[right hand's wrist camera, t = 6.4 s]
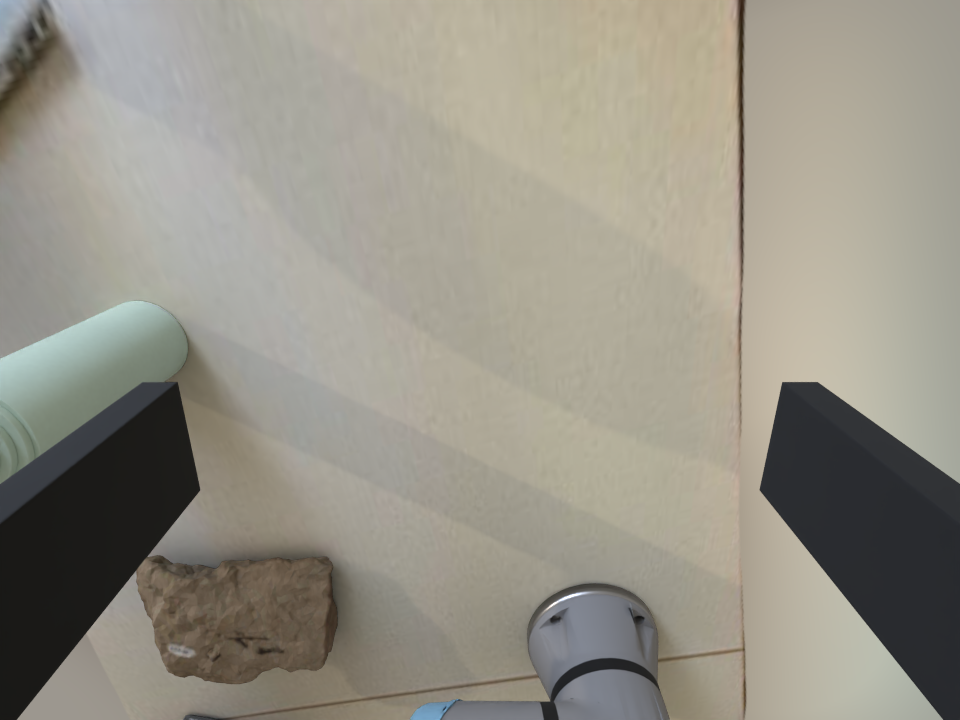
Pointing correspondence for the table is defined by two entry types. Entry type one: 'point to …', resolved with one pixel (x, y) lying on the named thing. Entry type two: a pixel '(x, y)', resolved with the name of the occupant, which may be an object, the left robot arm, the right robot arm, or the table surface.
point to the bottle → (82, 376)
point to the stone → (240, 616)
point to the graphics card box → (196, 718)
